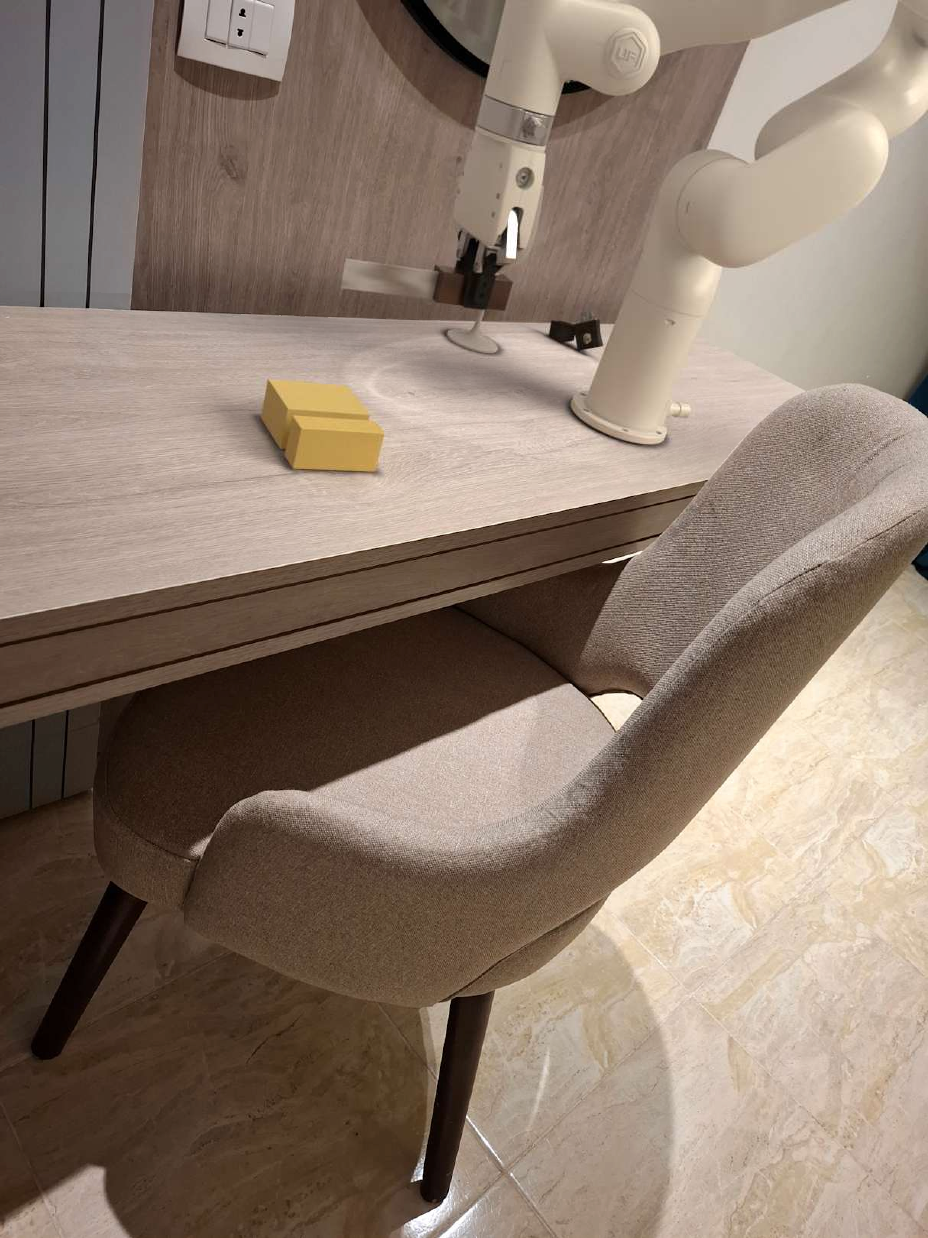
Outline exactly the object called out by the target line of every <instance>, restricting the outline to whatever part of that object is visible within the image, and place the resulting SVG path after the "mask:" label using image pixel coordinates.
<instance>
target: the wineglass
mask: <svg viewBox="0 0 928 1238" xmlns="http://www.w3.org/2000/svg"><path fill="white" fill-rule="evenodd" d="M544 187H545V186H544V185H542V187H541V192H540V197H539V202H538V206H537V210H536V215H535V219H534V223H533V227H532V231H531V234H530V238H529V241H528V244H527V247H526V248H525V250H523V251H516V260H515V262H514V263H513V264H510V265H505V266H504V267H502V268H501V271H500V274H504V273H506V272H508V271H510V270H512V269H514V268H516V267H517V266H519V265H520V264H522V262H523V261H525V259H526V258H528V256H529V254H530V252H531V250H532V248H533V245H534V242H535V239H536V235H537V231H538V226H539V221H540V217H541V210H542V204H543V197H544V190H545V189H544ZM476 243H477V239H476ZM498 243H499V239H497V243H495V244H498ZM490 253H495V251H490V250H488V251H487V255H486V257H487V256H488V255H489V254H490ZM484 315H485V310H479V309H478V313H477V316H476V319H475V322H474V324H473V326H472V328H470V329H469V330H467V329H466V330H465V329H461V328H452V329H449V330H448V331H447V332H446V336H447V338H448V339H449V340H450V341H451V342H453V343H455V344H456V345H458V346H459V347H462V348H464V349H468V350H470V351H474V352H478V353H483V354H494V353H496V352H498V349H499V347H498V345H497V343H496V342H495V341H494V340H492V339H490V338H489V337H486V336H485V335H482V332H481V325H482V322H483V321H482V320H483V317H484Z"/></svg>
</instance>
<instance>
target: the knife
mask: <svg viewBox="0 0 928 1238" xmlns="http://www.w3.org/2000/svg"><path fill="white" fill-rule="evenodd" d="M468 273H469V269H462V268H455V267H454V266H447V265H440V264H434V267H433V270H430V269H425V268H424V269H423V268H416V267H409V266H403V265H402V266H401V265H395V264H387V263H381V262H374V261H368V260H367V261H364V260H358V259H352V258H344V259H343V264H342V271H341V276H340V282H339V289H344V290H352V291H359V292H360V291H361V292H368V293H369V292H370V293H377V294H385V295H393V296H400V297H409V298H417V299H424V300H425V299H427V300H433V301H434V302H435V303H437V304H445V305H453V306H458V307H459V306H460V307H463V306H462V305H461V301H462V297H463V293H464V289H465V285H466V281H467V277H468ZM513 285H514V281H513V280H511V279H510V278H509V277H507V275H505V274H504V273H502V274H499V275H498V276H496V278H495V282H494V285H493V289H492V292H491V296H490V300H489V303H488V307H487V309H486V310H494V311H501V312H502V311H503V312H505V311H506V309H507V306H508V302H509V298H510V294H511V291H512V288H513Z"/></svg>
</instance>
